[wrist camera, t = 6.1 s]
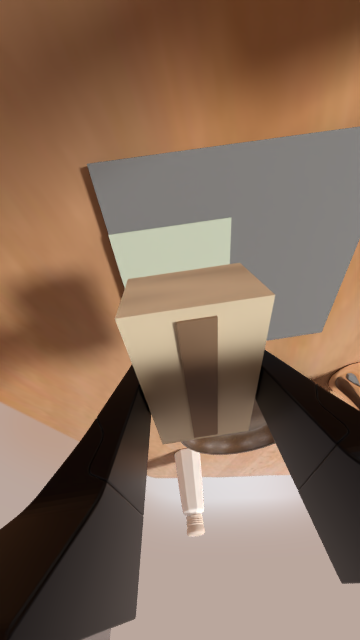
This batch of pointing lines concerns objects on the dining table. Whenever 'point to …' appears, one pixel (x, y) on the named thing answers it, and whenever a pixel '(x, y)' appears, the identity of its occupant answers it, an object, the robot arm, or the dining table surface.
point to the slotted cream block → (197, 347)
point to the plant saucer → (236, 438)
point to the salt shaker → (191, 489)
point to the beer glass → (347, 384)
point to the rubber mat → (243, 216)
